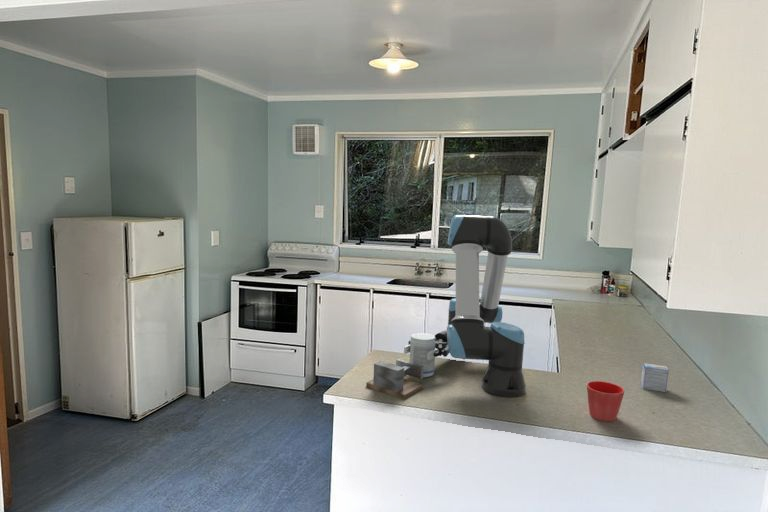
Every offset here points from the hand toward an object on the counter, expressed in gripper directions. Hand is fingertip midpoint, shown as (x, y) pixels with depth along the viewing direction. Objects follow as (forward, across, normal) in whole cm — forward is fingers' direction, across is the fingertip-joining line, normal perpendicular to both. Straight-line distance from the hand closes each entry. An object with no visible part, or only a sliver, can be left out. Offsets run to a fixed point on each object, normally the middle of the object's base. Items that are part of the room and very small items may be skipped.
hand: (416, 353), depth 179 cm
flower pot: (-12, -63, -9) cm, 65 cm away
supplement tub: (-4, 0, -9) cm, 10 cm away
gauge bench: (+14, 0, -9) cm, 17 cm away
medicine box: (-50, -73, -9) cm, 89 cm away
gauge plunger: (+7, 0, -7) cm, 10 cm away
